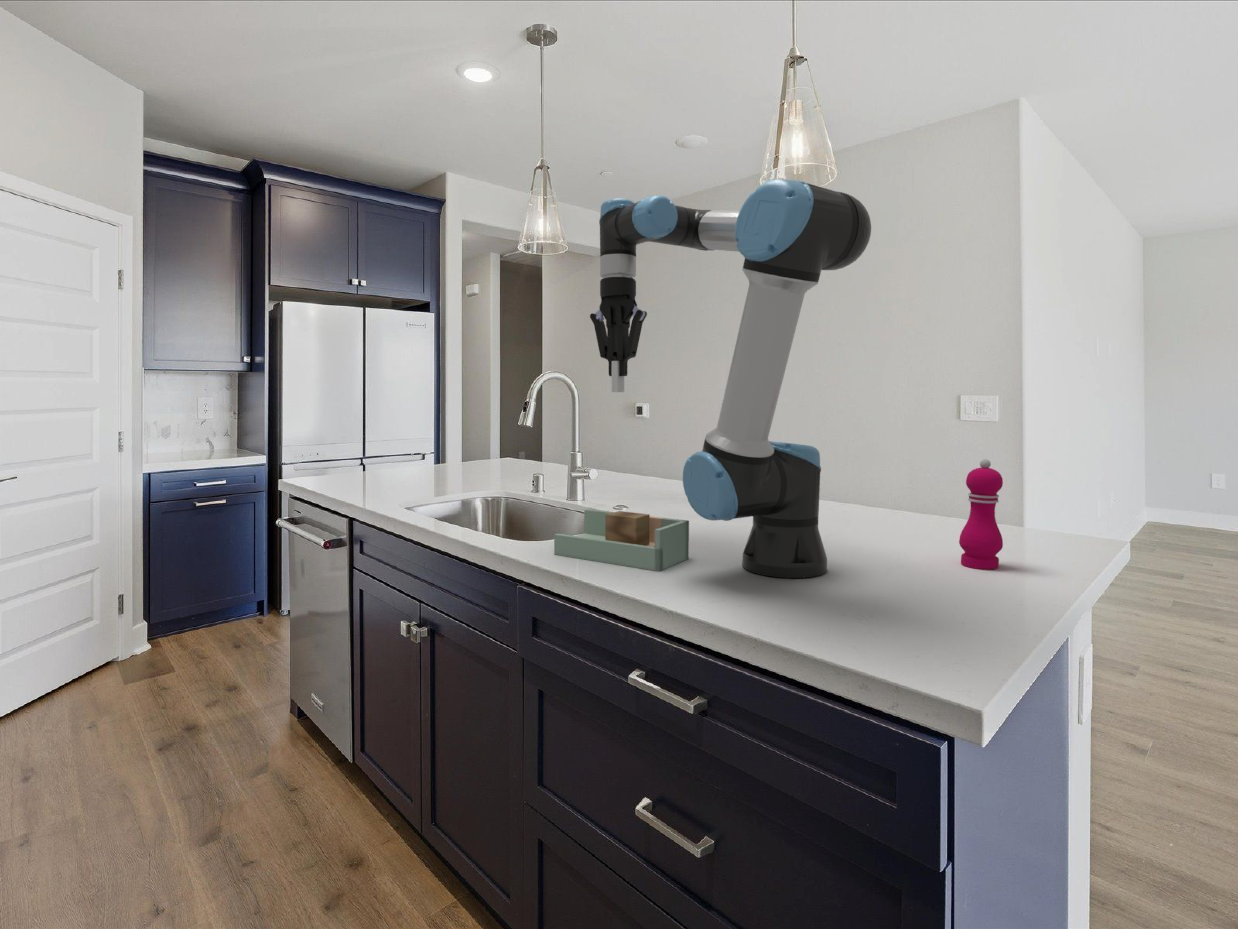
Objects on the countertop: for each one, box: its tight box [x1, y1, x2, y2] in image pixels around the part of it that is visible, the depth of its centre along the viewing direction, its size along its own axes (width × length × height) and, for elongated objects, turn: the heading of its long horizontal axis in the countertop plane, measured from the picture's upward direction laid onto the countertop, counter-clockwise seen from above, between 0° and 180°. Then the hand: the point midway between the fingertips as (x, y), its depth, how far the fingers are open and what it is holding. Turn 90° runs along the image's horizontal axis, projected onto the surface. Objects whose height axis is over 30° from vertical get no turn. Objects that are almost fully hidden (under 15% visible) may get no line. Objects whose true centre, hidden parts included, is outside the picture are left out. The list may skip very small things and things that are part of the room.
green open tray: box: [553, 508, 690, 572], centre depth 134 cm, size 24×12×8 cm, turn 57°
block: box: [605, 510, 650, 546], centre depth 133 cm, size 7×5×6 cm
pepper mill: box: [958, 458, 1004, 571], centre depth 127 cm, size 7×7×20 cm
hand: (617, 392), depth 145 cm, fingers closed
